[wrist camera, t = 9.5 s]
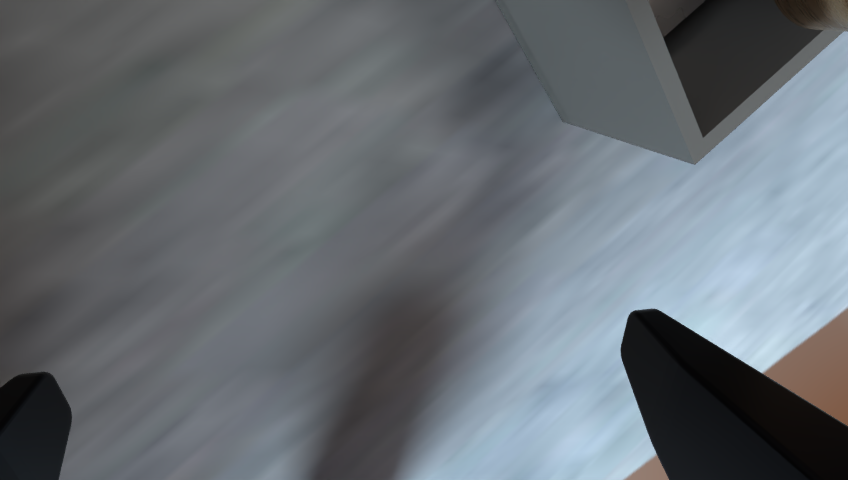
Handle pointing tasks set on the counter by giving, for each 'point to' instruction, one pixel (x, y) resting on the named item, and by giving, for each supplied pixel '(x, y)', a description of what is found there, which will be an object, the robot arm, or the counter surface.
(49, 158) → the counter surface
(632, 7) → the grey open box
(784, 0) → the plunger
